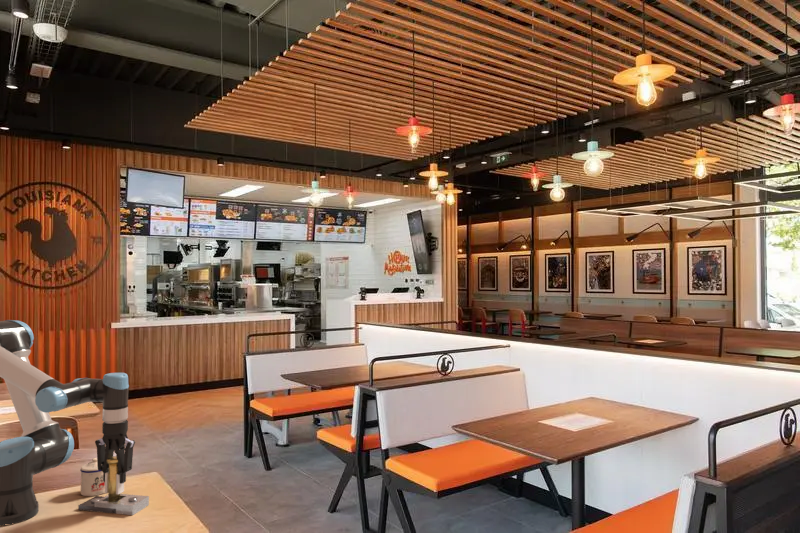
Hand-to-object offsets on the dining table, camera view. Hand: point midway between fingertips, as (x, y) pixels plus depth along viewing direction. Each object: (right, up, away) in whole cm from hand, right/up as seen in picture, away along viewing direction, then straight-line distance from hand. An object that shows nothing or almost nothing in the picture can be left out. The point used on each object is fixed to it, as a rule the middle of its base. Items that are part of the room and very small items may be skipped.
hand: (114, 492), depth 184 cm
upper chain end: (+3, -5, -1) cm, 6 cm away
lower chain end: (-3, -5, 0) cm, 6 cm away
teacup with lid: (-13, -6, +15) cm, 21 cm away
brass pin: (0, -3, 0) cm, 3 cm away
